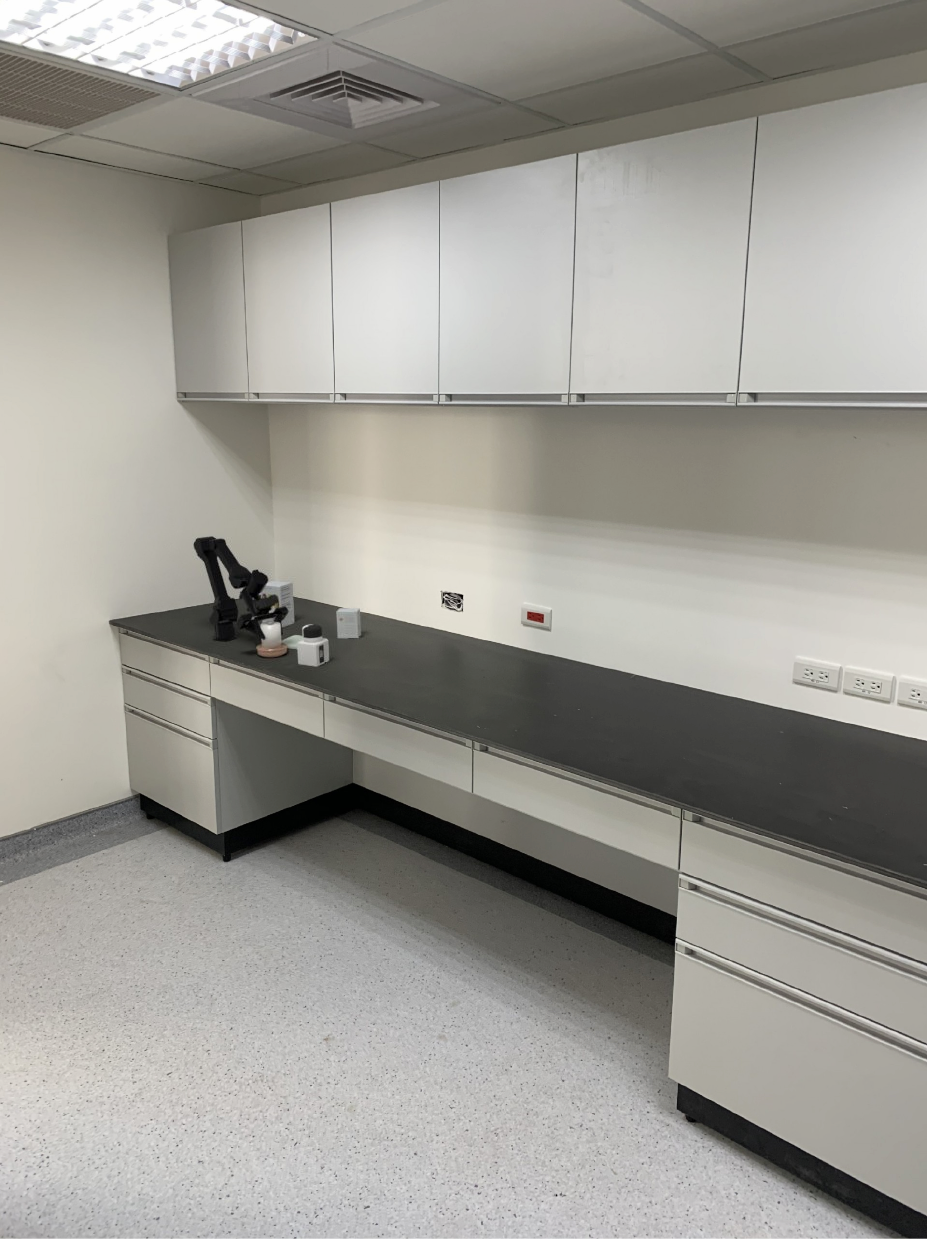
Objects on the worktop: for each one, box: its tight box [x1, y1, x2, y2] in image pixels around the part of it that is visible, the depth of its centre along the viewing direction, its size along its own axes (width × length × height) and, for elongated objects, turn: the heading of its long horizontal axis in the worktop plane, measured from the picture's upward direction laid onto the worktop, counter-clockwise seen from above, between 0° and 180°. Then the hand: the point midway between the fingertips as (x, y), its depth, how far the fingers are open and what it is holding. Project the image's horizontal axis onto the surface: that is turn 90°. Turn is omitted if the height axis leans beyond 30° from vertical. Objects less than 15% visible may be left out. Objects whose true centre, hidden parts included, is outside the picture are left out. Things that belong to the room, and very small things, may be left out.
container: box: [296, 623, 330, 668], centre depth 298 cm, size 8×8×13 cm
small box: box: [335, 607, 362, 639], centre depth 331 cm, size 8×6×10 cm
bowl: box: [256, 643, 288, 658], centre depth 310 cm, size 11×11×3 cm
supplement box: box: [260, 580, 295, 629], centre depth 350 cm, size 10×9×17 cm
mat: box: [281, 634, 327, 650], centre depth 324 cm, size 14×14×1 cm
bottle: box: [260, 621, 282, 649], centre depth 308 cm, size 7×7×9 cm
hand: (273, 637), depth 307 cm, fingers closed on bottle, 7 cm apart
